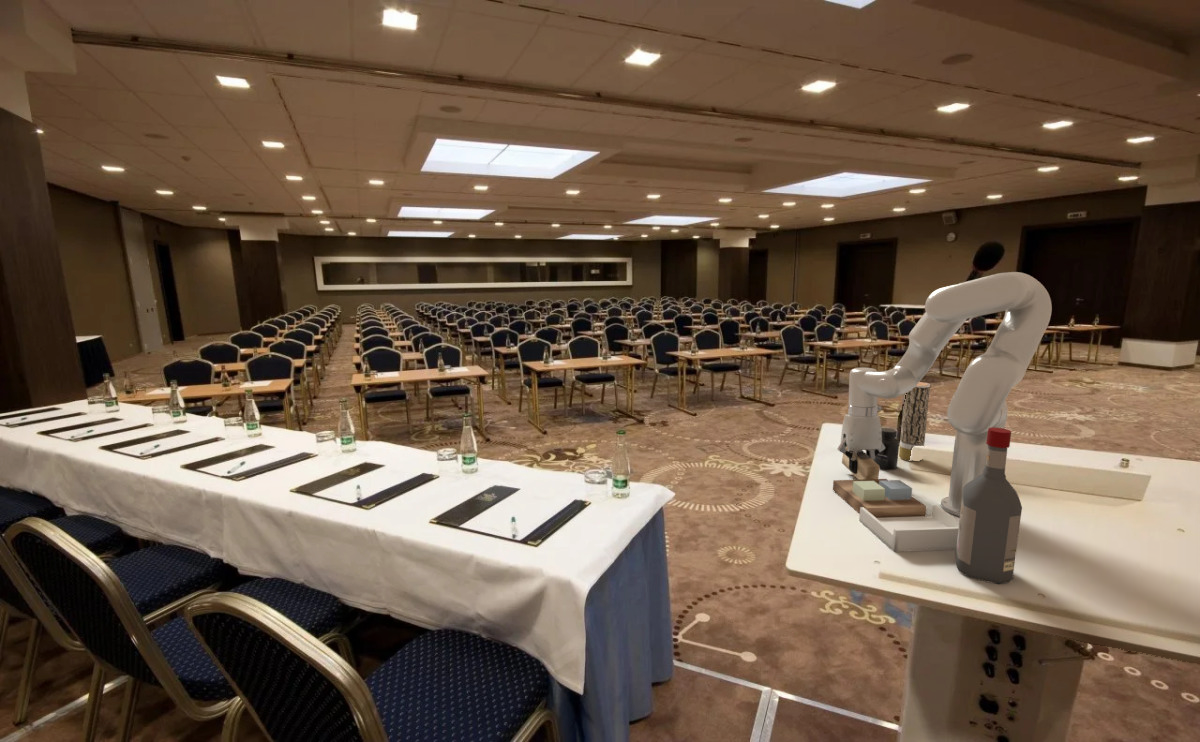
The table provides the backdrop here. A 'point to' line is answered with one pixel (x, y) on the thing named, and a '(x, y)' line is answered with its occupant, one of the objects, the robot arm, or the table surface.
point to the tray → (914, 530)
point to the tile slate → (896, 489)
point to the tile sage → (868, 490)
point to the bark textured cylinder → (914, 419)
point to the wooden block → (863, 466)
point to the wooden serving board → (879, 502)
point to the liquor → (989, 518)
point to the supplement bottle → (888, 450)
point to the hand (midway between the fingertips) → (860, 471)
